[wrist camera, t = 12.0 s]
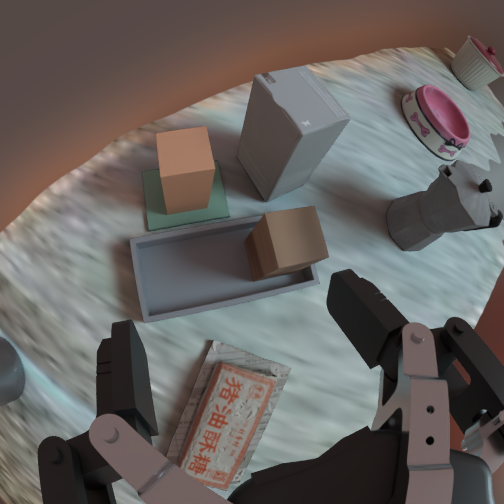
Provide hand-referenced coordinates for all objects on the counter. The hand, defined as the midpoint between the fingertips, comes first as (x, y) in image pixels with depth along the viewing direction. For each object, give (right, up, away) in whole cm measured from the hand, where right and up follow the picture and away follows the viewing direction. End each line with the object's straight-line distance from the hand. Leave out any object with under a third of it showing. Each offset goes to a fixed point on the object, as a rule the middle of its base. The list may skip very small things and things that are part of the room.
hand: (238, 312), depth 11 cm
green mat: (-8, +10, +24) cm, 27 cm away
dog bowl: (+41, +31, +40) cm, 66 cm away
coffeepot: (+27, +6, +31) cm, 41 cm away
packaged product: (-3, -18, +20) cm, 27 cm away
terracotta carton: (-8, +10, +24) cm, 27 cm away
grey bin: (-3, +1, +23) cm, 23 cm away
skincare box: (+2, +13, +28) cm, 31 cm away
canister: (+76, +65, +56) cm, 114 cm away
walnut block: (+3, +2, +24) cm, 24 cm away
